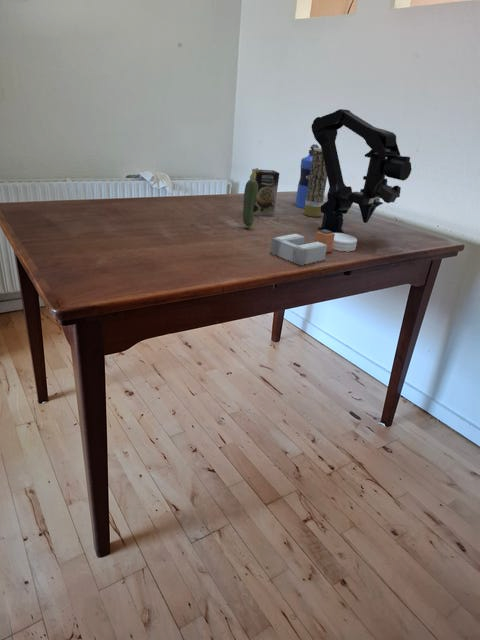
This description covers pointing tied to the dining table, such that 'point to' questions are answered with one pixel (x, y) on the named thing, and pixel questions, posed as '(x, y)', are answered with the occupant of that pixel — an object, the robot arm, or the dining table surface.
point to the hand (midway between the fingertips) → (365, 222)
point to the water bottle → (304, 178)
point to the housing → (298, 249)
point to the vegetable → (250, 199)
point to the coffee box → (266, 192)
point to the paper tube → (316, 185)
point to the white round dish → (344, 242)
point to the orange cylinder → (325, 238)
